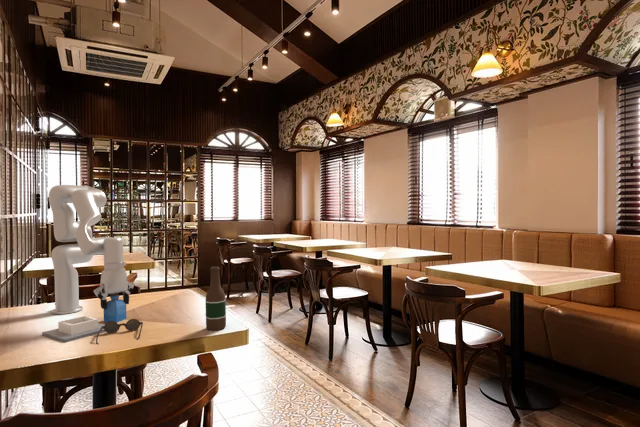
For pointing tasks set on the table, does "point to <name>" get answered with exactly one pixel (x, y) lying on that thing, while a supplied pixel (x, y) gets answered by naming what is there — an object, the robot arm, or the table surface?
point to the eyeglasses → (114, 326)
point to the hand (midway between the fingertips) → (115, 306)
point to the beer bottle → (215, 303)
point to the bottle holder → (75, 329)
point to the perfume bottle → (115, 309)
